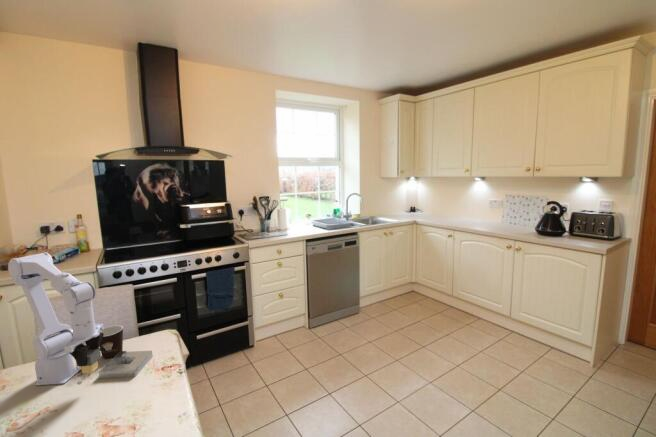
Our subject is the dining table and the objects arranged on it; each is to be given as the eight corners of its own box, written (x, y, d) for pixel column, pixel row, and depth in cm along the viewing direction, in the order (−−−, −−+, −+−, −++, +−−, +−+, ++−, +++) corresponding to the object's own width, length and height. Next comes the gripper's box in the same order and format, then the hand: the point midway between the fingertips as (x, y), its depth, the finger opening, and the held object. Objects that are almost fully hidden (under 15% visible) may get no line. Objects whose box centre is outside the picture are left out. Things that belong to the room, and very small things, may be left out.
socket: (99, 378, 106) (98, 370, 106) (120, 358, 118) (119, 350, 117) (135, 376, 107) (134, 368, 106) (152, 356, 119) (151, 349, 118)
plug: (78, 375, 98) (75, 357, 97) (88, 366, 102) (85, 349, 101) (92, 374, 98) (90, 356, 97) (102, 365, 103) (99, 348, 102)
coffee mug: (130, 348, 124) (128, 325, 123) (114, 361, 116) (111, 336, 114) (104, 347, 125) (101, 324, 124) (86, 360, 117) (82, 335, 115)
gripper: (79, 332, 91) (85, 374, 93) (110, 310, 105) (115, 347, 107) (54, 333, 90) (60, 375, 92) (89, 311, 105) (94, 348, 107)
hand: (88, 360), depth 100 cm, fingers closed on plug, 4 cm apart
